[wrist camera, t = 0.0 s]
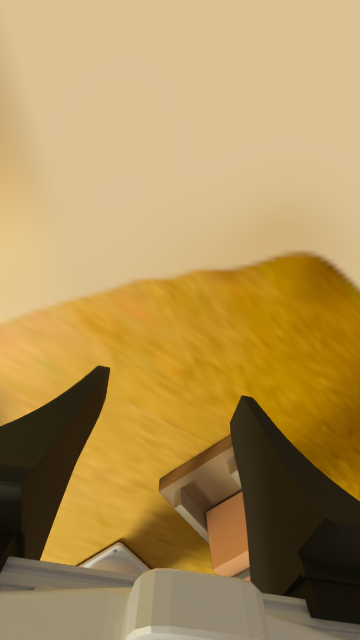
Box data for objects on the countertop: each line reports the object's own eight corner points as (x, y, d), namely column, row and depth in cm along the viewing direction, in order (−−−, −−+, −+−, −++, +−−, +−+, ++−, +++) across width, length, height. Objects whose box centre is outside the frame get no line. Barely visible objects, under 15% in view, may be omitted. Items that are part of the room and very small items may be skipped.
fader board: (287, 613, 33) (299, 651, 30) (159, 479, 28) (157, 508, 24) (353, 580, 32) (373, 616, 29) (234, 432, 26) (243, 456, 23)
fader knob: (226, 535, 27) (238, 597, 22) (205, 512, 26) (213, 572, 21) (265, 513, 27) (286, 572, 22) (245, 489, 26) (262, 545, 21)
